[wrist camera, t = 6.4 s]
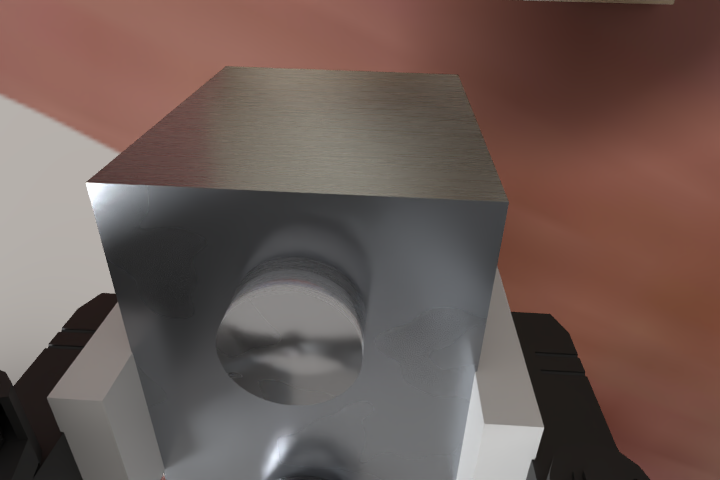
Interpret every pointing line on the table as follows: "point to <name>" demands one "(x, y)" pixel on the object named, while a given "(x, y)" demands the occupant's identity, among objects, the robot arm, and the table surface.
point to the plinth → (618, 1)
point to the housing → (306, 273)
